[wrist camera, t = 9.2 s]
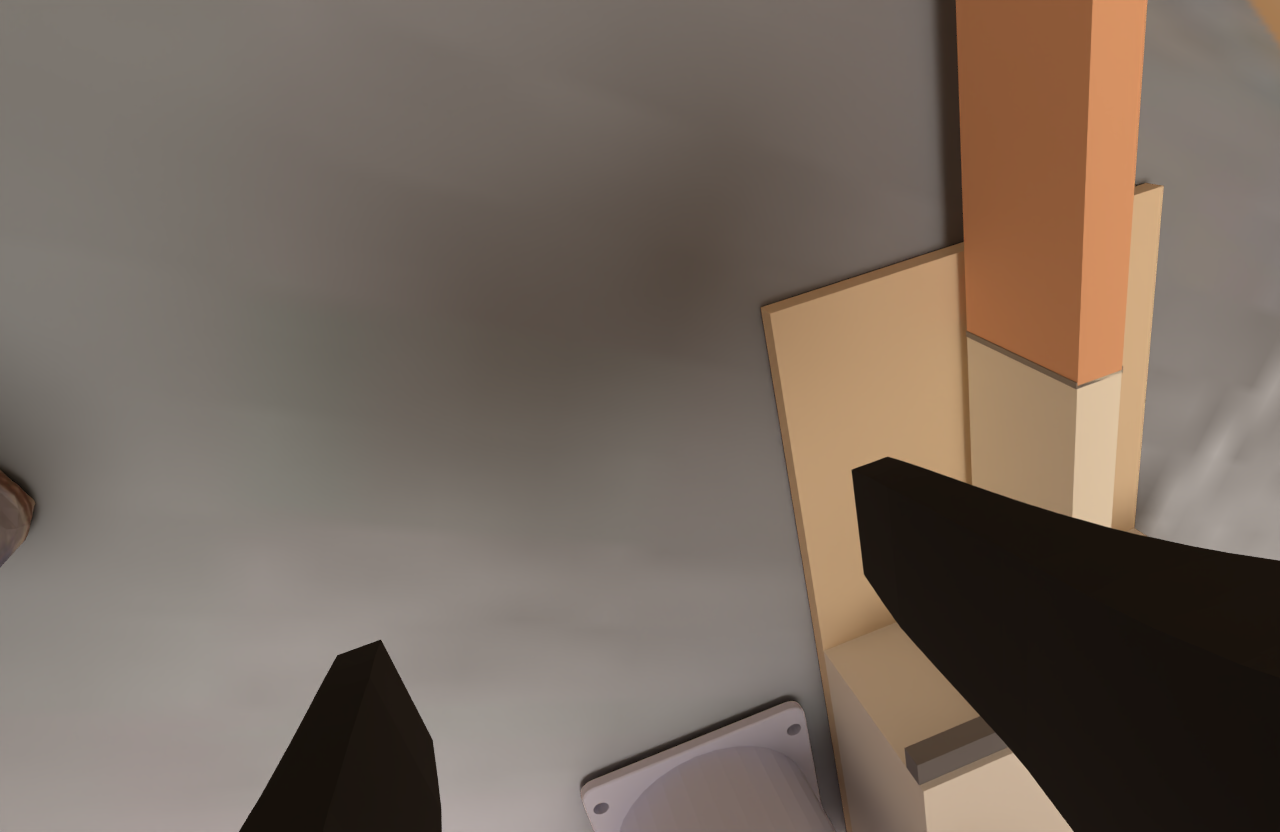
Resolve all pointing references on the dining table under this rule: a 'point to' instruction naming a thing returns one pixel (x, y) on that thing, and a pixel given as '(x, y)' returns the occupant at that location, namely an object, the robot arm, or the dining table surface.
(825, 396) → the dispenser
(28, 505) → the flask
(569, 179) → the dining table surface
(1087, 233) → the long copper stick
